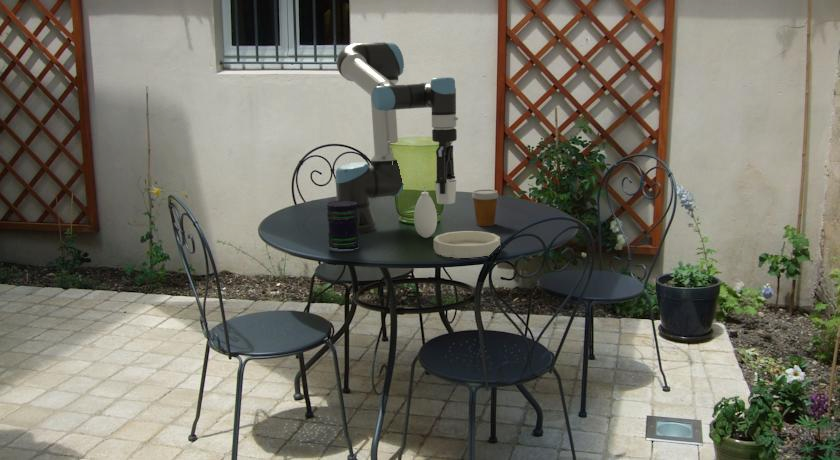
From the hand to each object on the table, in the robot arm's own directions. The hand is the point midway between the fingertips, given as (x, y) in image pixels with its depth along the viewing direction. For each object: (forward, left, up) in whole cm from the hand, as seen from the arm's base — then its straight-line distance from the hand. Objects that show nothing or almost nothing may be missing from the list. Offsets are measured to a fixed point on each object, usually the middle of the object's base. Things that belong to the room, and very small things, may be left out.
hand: (446, 201), depth 277 cm
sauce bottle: (-11, +18, -16) cm, 26 cm away
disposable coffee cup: (+6, +40, -16) cm, 43 cm away
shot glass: (0, 0, 0) cm, 0 cm away
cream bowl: (+6, +1, -16) cm, 17 cm away
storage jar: (-34, -1, -16) cm, 37 cm away
